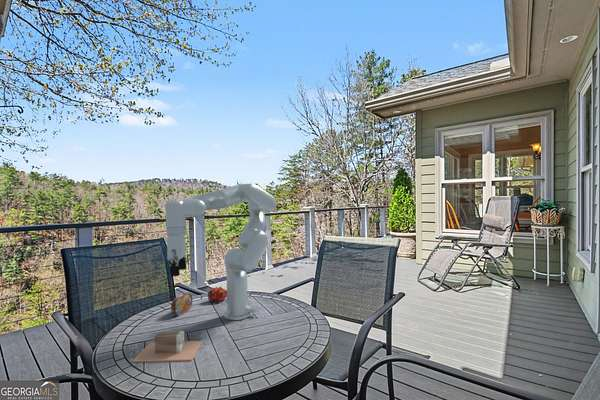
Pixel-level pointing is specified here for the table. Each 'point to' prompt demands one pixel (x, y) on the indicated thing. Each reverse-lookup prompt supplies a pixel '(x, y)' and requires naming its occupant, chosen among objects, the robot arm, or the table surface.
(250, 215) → the robot arm
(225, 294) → the dragon fruit
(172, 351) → the card box
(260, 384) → the table surface
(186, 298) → the tin
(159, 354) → the mat
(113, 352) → the table surface
